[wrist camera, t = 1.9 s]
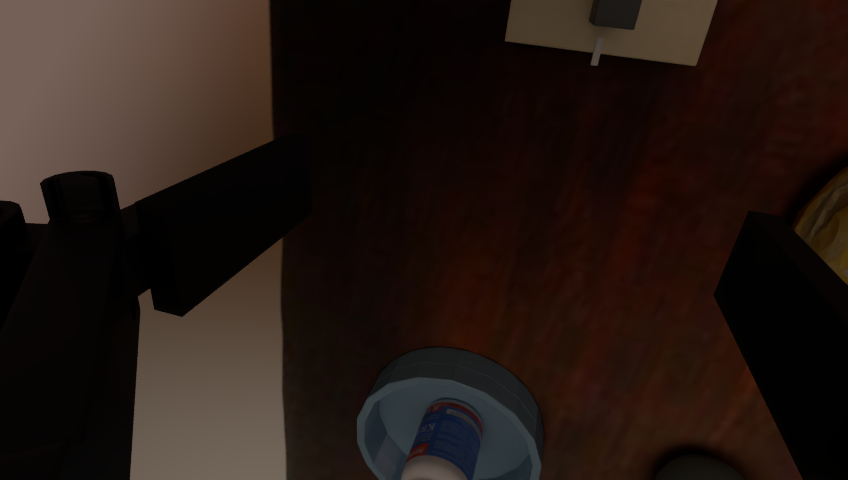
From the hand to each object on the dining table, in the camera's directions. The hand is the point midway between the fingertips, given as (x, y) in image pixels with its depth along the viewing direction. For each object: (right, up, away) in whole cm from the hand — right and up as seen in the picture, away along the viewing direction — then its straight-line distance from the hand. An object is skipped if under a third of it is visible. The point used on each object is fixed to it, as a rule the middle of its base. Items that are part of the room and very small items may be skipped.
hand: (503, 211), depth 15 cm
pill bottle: (0, -17, +29) cm, 33 cm away
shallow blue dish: (0, -17, +29) cm, 33 cm away
